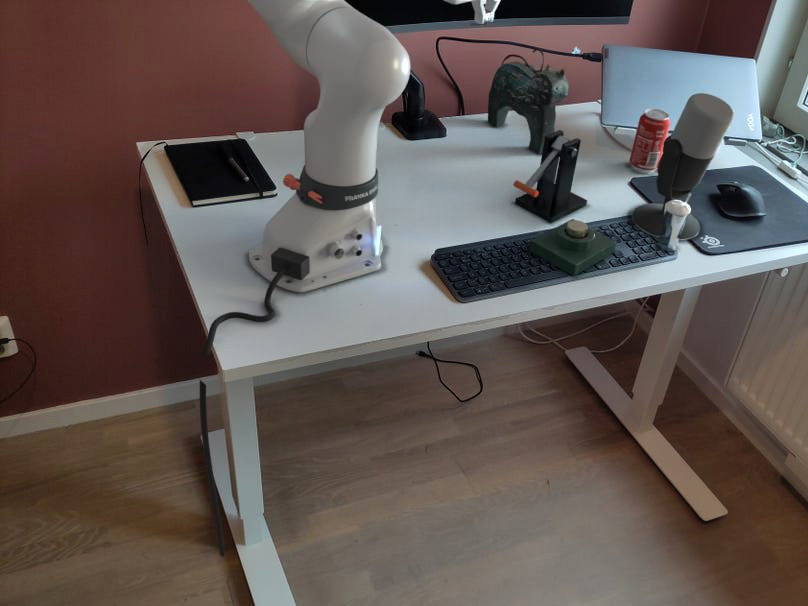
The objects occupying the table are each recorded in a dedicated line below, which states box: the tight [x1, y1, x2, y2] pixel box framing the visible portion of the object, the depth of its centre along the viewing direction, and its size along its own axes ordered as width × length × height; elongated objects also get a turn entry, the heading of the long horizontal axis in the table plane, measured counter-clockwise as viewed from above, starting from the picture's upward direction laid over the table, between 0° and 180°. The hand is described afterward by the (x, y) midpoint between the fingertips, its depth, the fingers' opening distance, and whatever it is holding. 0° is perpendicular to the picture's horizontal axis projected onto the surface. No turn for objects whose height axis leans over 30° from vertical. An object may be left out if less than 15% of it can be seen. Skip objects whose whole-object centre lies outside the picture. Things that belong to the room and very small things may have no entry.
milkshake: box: [657, 192, 692, 252], centre depth 148 cm, size 5×5×10 cm
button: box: [566, 219, 589, 239], centre depth 144 cm, size 4×4×2 cm
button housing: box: [528, 218, 617, 277], centre depth 145 cm, size 12×10×4 cm
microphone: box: [631, 92, 735, 242], centre depth 150 cm, size 13×13×25 cm
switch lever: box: [513, 135, 571, 197], centre depth 150 cm, size 12×5×2 cm
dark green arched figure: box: [487, 47, 570, 155], centre depth 173 cm, size 20×6×20 cm, turn 39°
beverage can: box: [629, 108, 671, 174], centre depth 172 cm, size 6×6×12 cm
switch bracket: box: [514, 129, 588, 224], centre depth 154 cm, size 11×9×14 cm
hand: (483, 22), depth 141 cm, fingers closed
